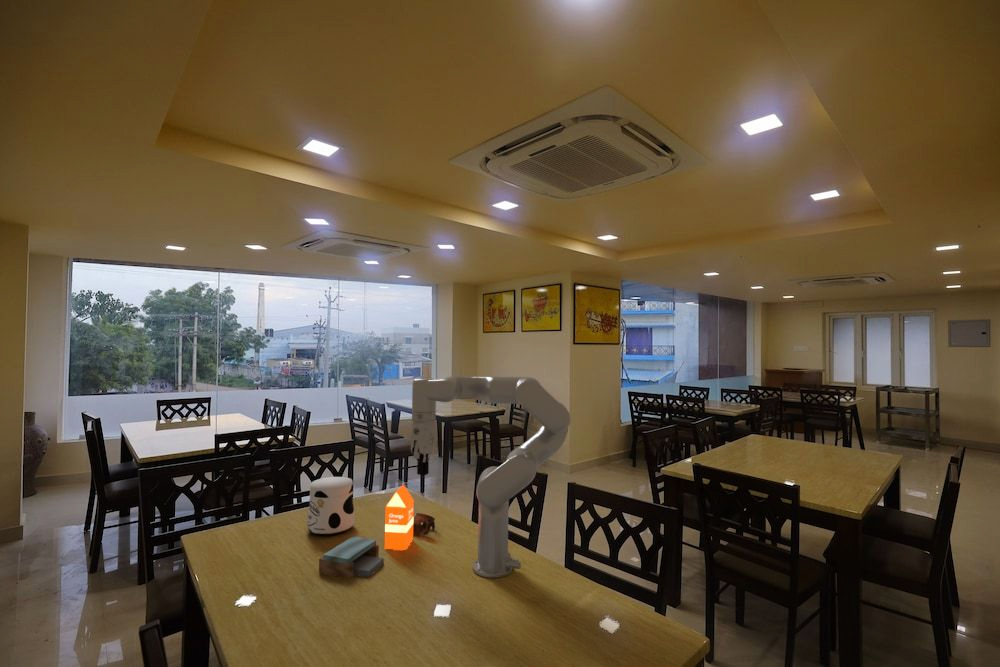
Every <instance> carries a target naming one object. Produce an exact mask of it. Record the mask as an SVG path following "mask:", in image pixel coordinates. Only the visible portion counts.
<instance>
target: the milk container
mask: <svg viewBox="0 0 1000 667" xmlns="http://www.w3.org/2000/svg"><path fill="white" fill-rule="evenodd" d="M353 484H354V483H353V479H352V478H350V477H347V476H346V477H345V476H330V477H329V476H328V477H323V478H318V479H316V480H313V481H312V482H311V483H310V487H309V507H308V511H307V516H306V528H307V530H308V531H309V532H310V533H312V534H314V535H318V536H319V535H320V536H332V535H337V534H341V533H345V532H346V531H348V530H350V529H351V528H352V527H353V526H354V524H355V520H356V511H355V506H354V485H353Z"/></svg>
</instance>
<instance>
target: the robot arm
mask: <svg viewBox="0 0 1000 667" xmlns="http://www.w3.org/2000/svg"><path fill="white" fill-rule="evenodd" d="M411 394H412V396H411V398H412V399H411V402H412V403H411V422H412V424H411V433H410V452H411V454H413V456H412V457H413V459H414V460H416V464H417V466H416V468H417V470H416V474H417V475H419V476H427V475H428V474H429V464H430V463H429V461H430V458H431V456H430V455H431V453H432V452H434V451H435V450H437V448H438V434H437V432H438V431H437V430H438V429H437V422H436V415H437V414H436V411H437V410H436V408H437V405H436V402H440V403H450V402H453V401H454V400H477V401H481V402H485V403H487V404H502V405H503V404H509V405H511V404H512V405H513V404H516V405H518V404H519V405H521V407H522V408H523V409H524V410H525V411H526V412H528V413H529V415H531V416H532V417H533V419H535V420H536V421H537V422H538V423H539V424H540V425H541V427H540V428H539V430H538V431H536V433H535V434H533V435H532V436H531V437H529V439H527V440H526V441H525V442H523V443H522V444H520V445H519V446H518V447H516V448H515V449H513V450H511V452H509V453H508V455H507V457H506V461H504V462H503V463H501V465H499V466H489V467H487V468H485V469H484V470H483V471H482V472H481V474H480V476H479V478H478V482H477V485H476V489H475V490H476V493H475V494H476V498H477V500H478V516H477V517H478V519H477V520H478V524H477V527H478V530H477V532H478V533H477V537H478V538H477V559H476V560H475V561H474V562H473V564H472V570H473V572H474V573H475V574H477V576H481V577H482V578H483V577H484V578H491V579H494V578H502V577H506V576H507V575H509V574H511V573H512V571H513V569H516V570H520V569H521V566H522V565H521V564H522V563H521V562H520V559H519V558H512V556H511V554H512V553H511V552H509V513H510V512H509V505H510V503H509V502H510V499H512V498H513V497H515V495H517V494H519V493H520V492H521V491H523V490H524V489H525V488H526V487H527V486H529V485H530V484H531V483H532V482H533V480H534V479H535V477H536V474H537V469H538V468H539V467H540V466H541V465H543V464H544V463H545V462H547V461H548V460H549V459H550V458H551V457H552V456H554V455H555V454H556V453H557V452H558V451H559V450H560V449H561V448H562V446H563V444H564V442H565V441H566V438H567V436H568V431H569V426H570V424H571V415H570V412H569V410H568V408H566V406H565V405H564V404H563V403H561V402H559V401H557V399H556V398H555V397H553V396H552V395H551V394H550V393H549V392H548V390H546V389H545V388H544V387H543V386H542V385H541V383H540V381H538V379H537V378H534V377H529V376H447V377H445V378H440V379H434V378H433V377H432V378H431V377H418V378H415V379H413V380H412V392H411Z"/></svg>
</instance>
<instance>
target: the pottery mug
mask: <svg viewBox="0 0 1000 667" xmlns="http://www.w3.org/2000/svg"><path fill="white" fill-rule="evenodd" d="M435 520H436V519H435V517H433V516H432V515H429V514H426V513H421V512H417V513H416V514H415V515H414V521H413V537H416V538H419V537H420V538H421V535H423V536H426V535H428V534H429V532H430V530H432V529H433V530H432V531H435V529H436V526H435V525H436V522H435Z"/></svg>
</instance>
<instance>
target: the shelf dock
mask: <svg viewBox="0 0 1000 667" xmlns="http://www.w3.org/2000/svg"><path fill="white" fill-rule="evenodd" d="M379 548H380V545H379V544H377V539H372V538H367V537H359V536H352V537H349V538H348V539H346V540H344V541H343V542H341V543H340V544H338V545H336V546H335V547H333V548H332V549H330V550H329V551H327V552H325V553H324V554H322V556H321V557H320V558H319V559H318V573H319V572H320V573H319V574H323V573H326V574H325V575H328V574H331V575H330V576H333V575H336V576H335V577H340V578H344V577H345V579H350V580H352V579H353V578H354V576H355V575H354V562H352V561H353V560H355V559H356V558H358V557H359V556H361V555H365V556H372V557H378V558H380V557H379V554H380V553H379V552H380V551H379ZM352 577H353V578H352Z"/></svg>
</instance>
